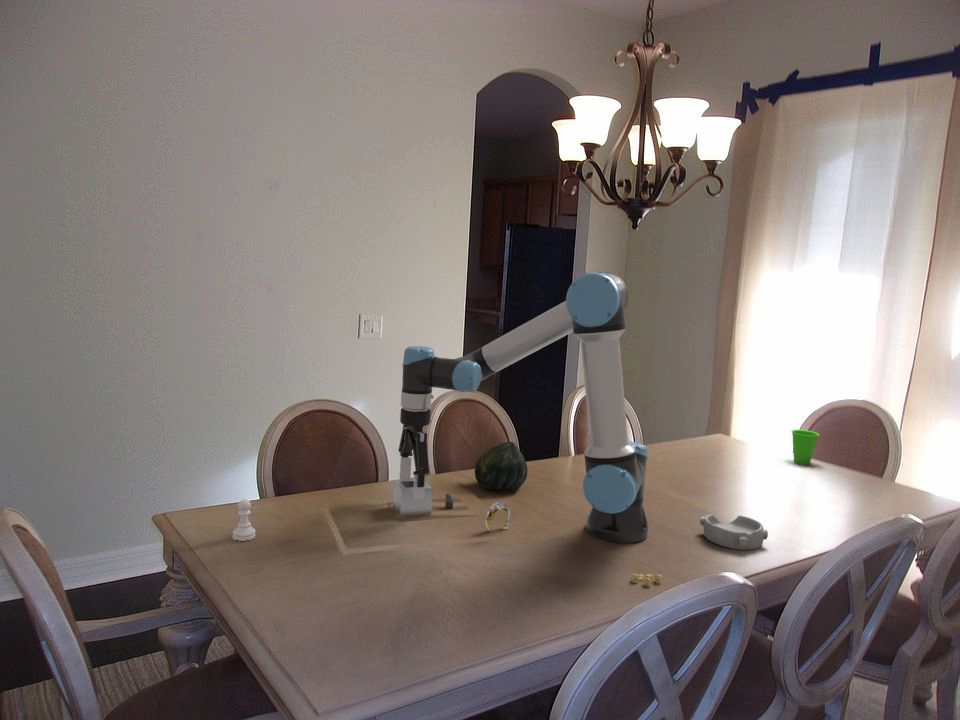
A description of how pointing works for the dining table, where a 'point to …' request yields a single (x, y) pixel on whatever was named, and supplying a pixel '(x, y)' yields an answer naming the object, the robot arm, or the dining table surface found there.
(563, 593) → the dining table surface
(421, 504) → the white open box
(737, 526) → the dish
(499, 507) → the bracelet
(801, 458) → the cup
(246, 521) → the chess pawn
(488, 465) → the squash
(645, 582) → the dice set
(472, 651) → the dining table surface
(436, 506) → the peg board
